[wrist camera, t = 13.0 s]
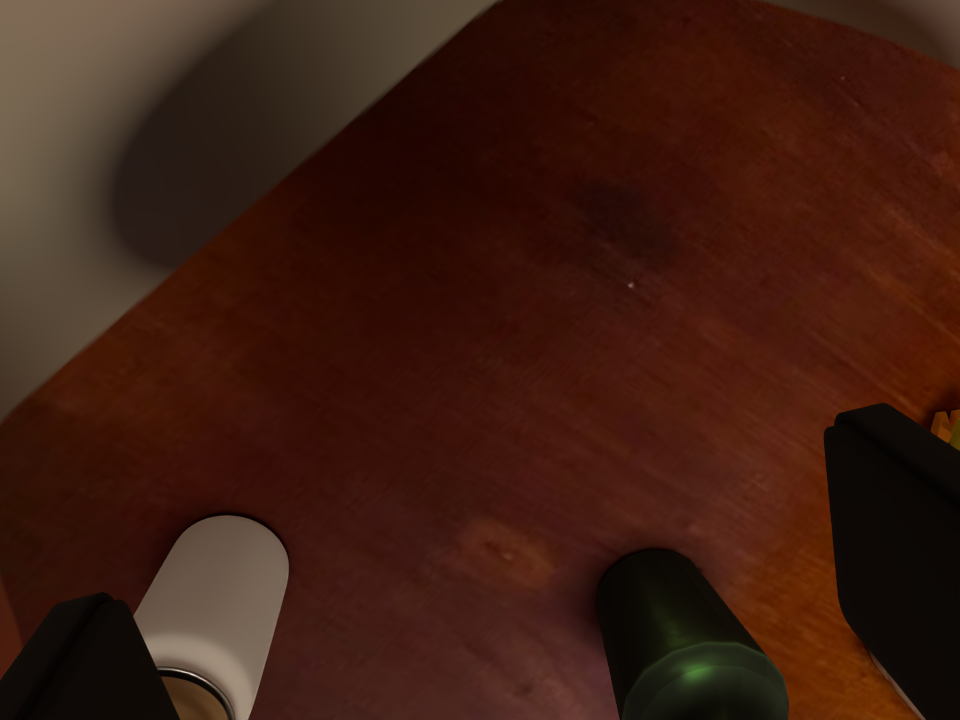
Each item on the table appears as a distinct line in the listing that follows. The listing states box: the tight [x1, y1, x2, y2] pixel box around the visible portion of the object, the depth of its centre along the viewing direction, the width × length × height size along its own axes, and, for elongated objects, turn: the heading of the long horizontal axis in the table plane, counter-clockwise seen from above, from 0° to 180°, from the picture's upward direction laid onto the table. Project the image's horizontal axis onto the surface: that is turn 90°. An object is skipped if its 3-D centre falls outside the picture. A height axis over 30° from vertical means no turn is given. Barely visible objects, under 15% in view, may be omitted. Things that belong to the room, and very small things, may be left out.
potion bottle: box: [596, 550, 789, 720], centre depth 37 cm, size 8×8×18 cm
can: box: [133, 515, 289, 720], centre depth 37 cm, size 6×6×12 cm
